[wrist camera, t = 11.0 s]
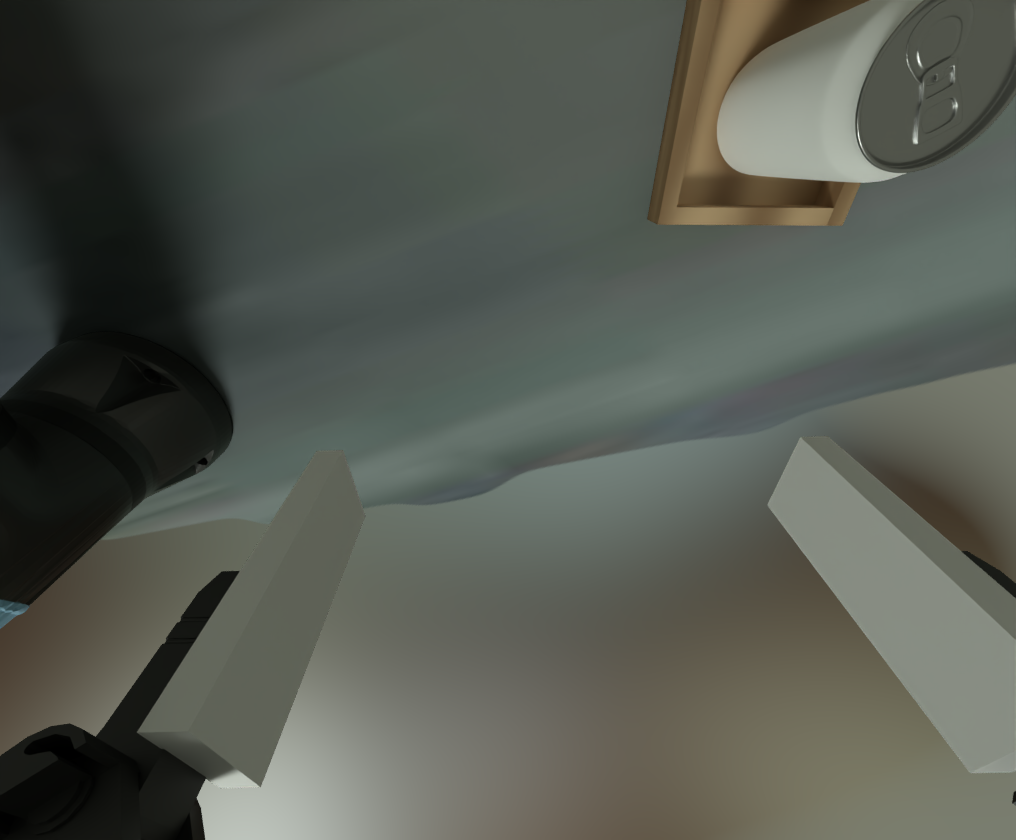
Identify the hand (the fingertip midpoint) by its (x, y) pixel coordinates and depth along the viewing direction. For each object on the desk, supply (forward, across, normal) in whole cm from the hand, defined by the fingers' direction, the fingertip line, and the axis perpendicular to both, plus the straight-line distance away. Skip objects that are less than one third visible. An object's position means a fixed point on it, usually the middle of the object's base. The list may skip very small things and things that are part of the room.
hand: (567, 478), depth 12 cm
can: (+22, +15, +10) cm, 28 cm away
